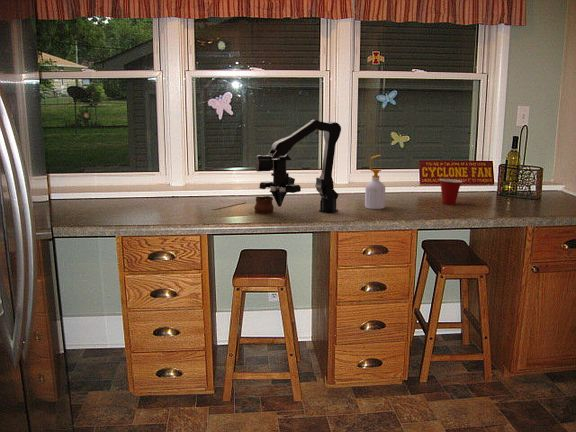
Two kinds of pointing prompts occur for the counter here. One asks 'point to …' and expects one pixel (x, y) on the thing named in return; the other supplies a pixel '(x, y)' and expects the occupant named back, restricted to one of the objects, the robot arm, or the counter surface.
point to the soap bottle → (375, 191)
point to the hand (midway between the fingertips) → (279, 206)
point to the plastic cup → (449, 190)
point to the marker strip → (229, 205)
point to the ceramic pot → (264, 205)
